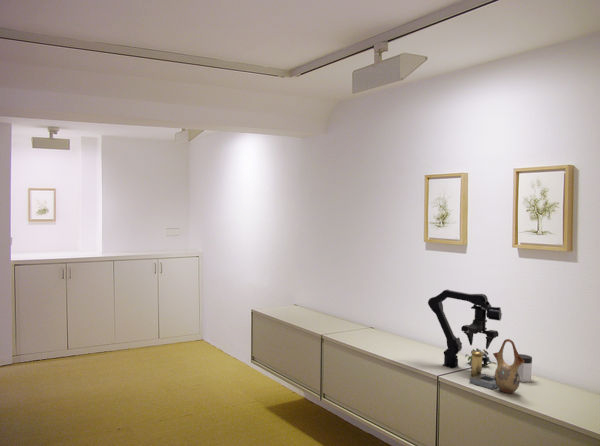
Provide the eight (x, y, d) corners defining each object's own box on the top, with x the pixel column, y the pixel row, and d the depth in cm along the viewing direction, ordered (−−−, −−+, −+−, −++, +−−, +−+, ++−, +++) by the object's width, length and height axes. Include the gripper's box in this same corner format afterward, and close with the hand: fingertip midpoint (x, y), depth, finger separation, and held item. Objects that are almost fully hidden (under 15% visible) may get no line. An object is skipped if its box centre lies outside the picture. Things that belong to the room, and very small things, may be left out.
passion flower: (484, 374, 294) (497, 360, 288) (470, 373, 289) (482, 358, 283) (473, 359, 302) (486, 344, 297) (459, 357, 297) (472, 342, 292)
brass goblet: (467, 376, 271) (468, 351, 270) (473, 374, 275) (474, 349, 275) (478, 379, 266) (480, 354, 266) (484, 377, 271) (485, 352, 270)
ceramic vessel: (485, 387, 254) (488, 336, 253) (497, 385, 259) (500, 334, 258) (515, 398, 240) (518, 344, 240) (527, 395, 245) (530, 342, 244)
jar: (534, 380, 269) (536, 357, 268) (526, 383, 264) (528, 359, 263) (518, 375, 276) (519, 353, 275) (510, 378, 270) (511, 355, 270)
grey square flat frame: (469, 382, 261) (470, 377, 261) (482, 378, 269) (482, 373, 269) (492, 389, 252) (492, 384, 252) (504, 384, 260) (505, 379, 260)
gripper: (456, 316, 282) (454, 345, 282) (488, 322, 268) (487, 353, 268) (467, 314, 289) (466, 342, 290) (499, 320, 275) (498, 350, 276)
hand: (478, 347), depth 280 cm, fingers open, 9 cm apart
